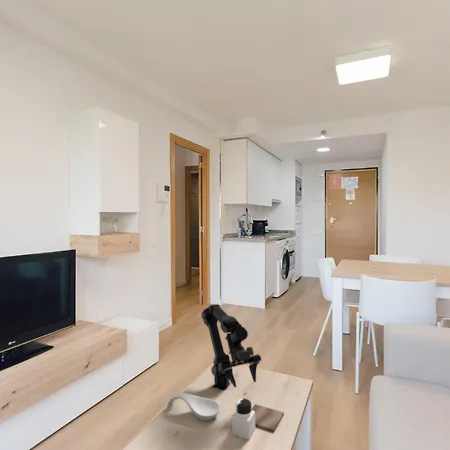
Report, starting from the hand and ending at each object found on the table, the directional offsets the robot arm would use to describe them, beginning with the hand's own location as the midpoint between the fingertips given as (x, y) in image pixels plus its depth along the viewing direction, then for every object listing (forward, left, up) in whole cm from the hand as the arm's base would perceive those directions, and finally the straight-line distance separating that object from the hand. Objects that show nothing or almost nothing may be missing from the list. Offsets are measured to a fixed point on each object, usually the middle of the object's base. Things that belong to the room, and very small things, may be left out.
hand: (245, 384), depth 133 cm
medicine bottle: (+3, -9, -13) cm, 17 cm away
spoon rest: (-21, -8, -14) cm, 26 cm away
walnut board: (+7, +2, -13) cm, 15 cm away
